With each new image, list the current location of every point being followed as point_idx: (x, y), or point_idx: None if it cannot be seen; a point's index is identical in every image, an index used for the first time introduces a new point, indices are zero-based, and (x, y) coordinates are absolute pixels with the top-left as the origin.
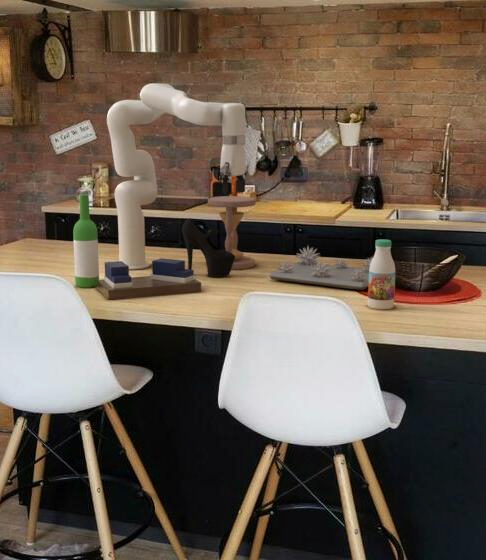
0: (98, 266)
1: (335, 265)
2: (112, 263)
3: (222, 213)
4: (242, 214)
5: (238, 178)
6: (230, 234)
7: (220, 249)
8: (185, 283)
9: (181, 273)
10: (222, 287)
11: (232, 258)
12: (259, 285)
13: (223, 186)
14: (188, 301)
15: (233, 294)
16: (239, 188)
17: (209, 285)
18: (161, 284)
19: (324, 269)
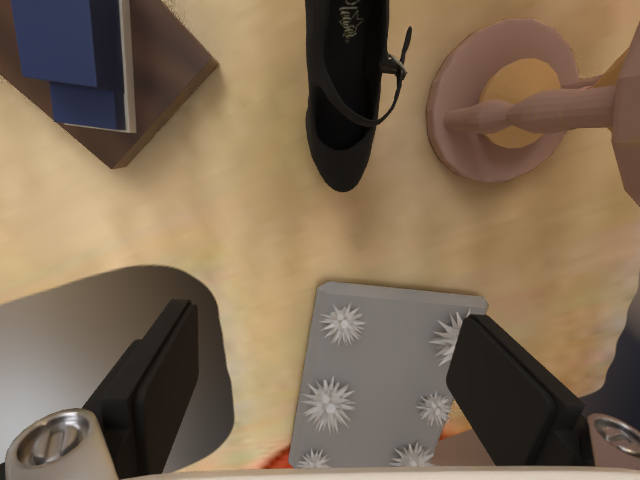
0: None
1: None
2: None
3: None
4: None
5: (569, 460)
6: (509, 123)
7: (367, 130)
8: (71, 128)
9: (54, 108)
10: (203, 198)
11: (332, 188)
12: (267, 273)
13: (137, 362)
14: (7, 180)
15: (146, 253)
16: (470, 368)
17: (209, 155)
18: (8, 55)
19: (319, 418)
